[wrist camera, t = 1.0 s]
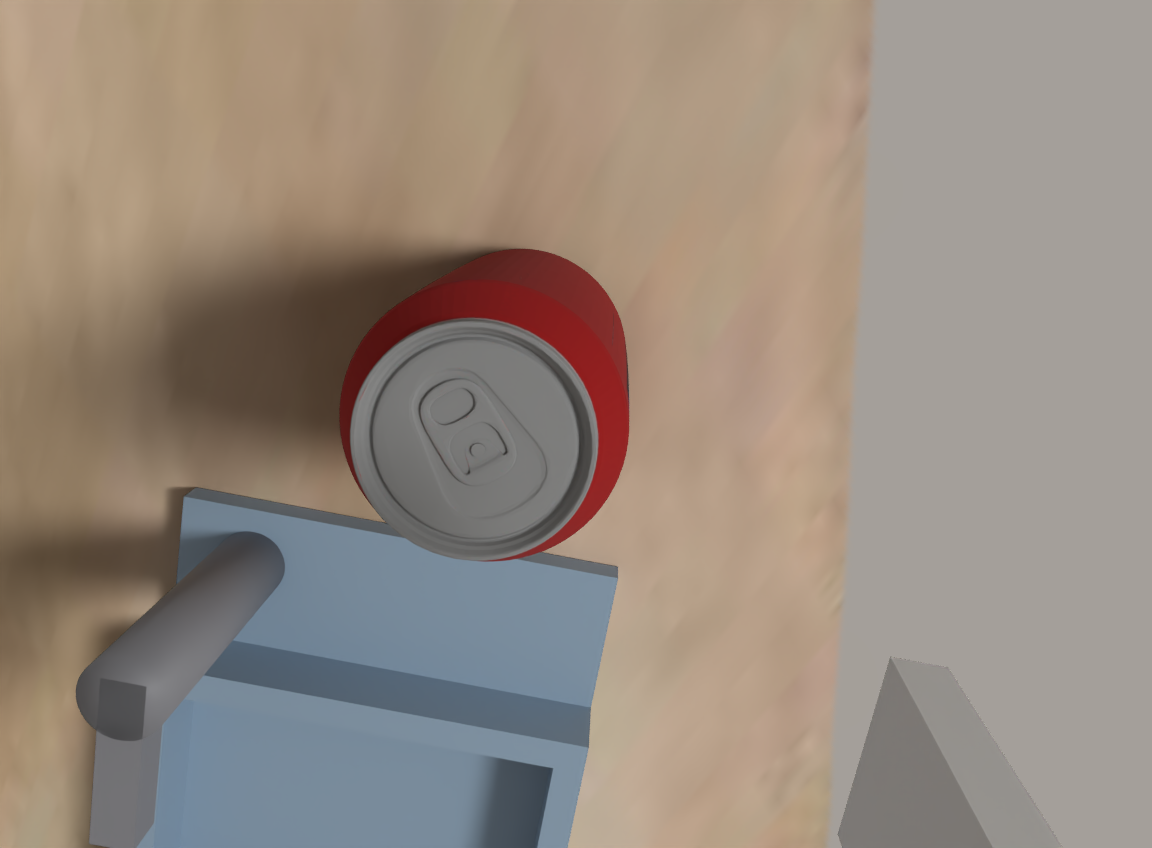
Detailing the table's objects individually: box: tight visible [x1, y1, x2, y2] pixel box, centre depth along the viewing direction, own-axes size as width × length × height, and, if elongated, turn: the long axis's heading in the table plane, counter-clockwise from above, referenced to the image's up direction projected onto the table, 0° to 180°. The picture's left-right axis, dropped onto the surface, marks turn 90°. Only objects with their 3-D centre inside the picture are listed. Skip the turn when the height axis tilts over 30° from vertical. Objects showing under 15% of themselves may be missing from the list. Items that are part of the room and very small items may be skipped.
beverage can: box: [340, 249, 629, 562], centre depth 27 cm, size 7×7×12 cm
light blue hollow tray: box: [76, 487, 618, 848], centre depth 32 cm, size 18×15×10 cm
